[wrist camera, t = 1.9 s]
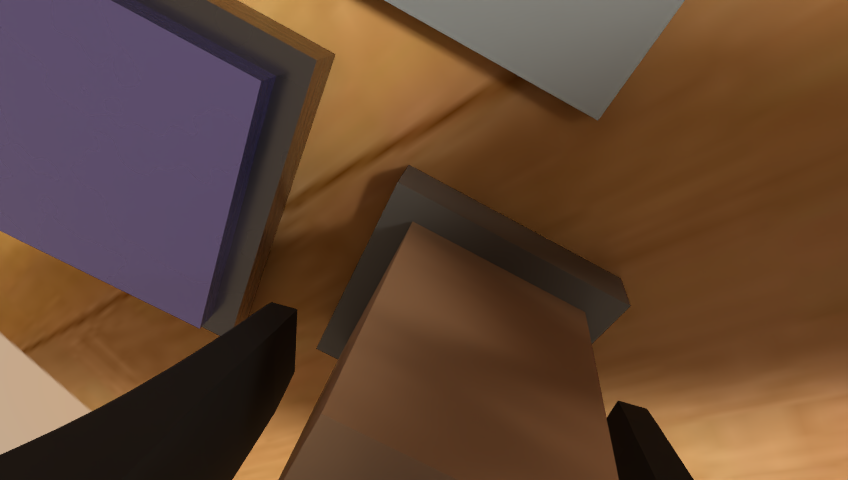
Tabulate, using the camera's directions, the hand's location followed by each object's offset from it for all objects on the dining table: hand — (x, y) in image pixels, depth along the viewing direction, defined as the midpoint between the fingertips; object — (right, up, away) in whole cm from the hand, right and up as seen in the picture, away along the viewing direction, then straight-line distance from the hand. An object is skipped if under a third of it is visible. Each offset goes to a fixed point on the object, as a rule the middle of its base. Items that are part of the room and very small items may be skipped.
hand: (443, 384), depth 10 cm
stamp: (+1, +2, +3) cm, 3 cm away
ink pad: (-8, +6, +2) cm, 10 cm away
